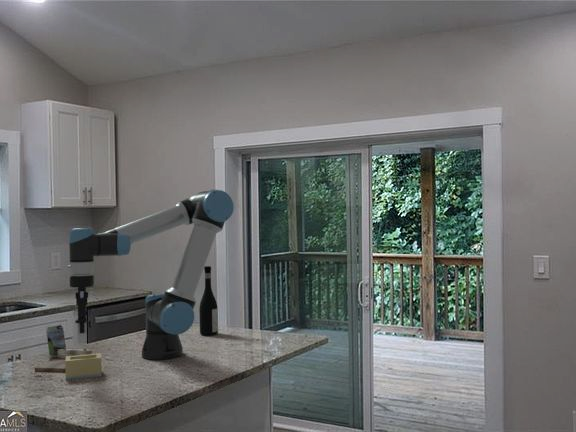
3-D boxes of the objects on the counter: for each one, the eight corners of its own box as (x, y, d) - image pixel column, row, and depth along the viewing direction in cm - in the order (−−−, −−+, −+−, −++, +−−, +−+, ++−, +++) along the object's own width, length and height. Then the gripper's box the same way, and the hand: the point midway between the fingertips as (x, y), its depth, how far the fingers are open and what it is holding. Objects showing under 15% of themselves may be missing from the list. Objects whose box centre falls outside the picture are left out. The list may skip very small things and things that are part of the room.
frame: (100, 371, 199) (100, 353, 199) (101, 376, 193) (101, 357, 193) (66, 374, 195) (65, 356, 196) (65, 379, 189) (65, 361, 189)
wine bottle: (218, 332, 263) (217, 265, 263) (217, 335, 255) (215, 266, 255) (200, 332, 263) (199, 265, 263) (198, 336, 255) (197, 267, 255)
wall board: (92, 361, 213) (92, 348, 213) (69, 372, 198) (69, 358, 198) (59, 360, 215) (59, 348, 215) (34, 371, 201) (34, 357, 201)
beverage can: (60, 358, 218) (60, 326, 218) (42, 358, 220) (42, 326, 220) (70, 354, 225) (69, 323, 225) (52, 354, 226) (52, 323, 226)
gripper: (70, 272, 205) (70, 333, 204) (68, 278, 181) (69, 347, 181) (93, 271, 207) (93, 331, 207) (94, 277, 184) (94, 345, 183)
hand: (82, 339), depth 194 cm, fingers open, 13 cm apart
